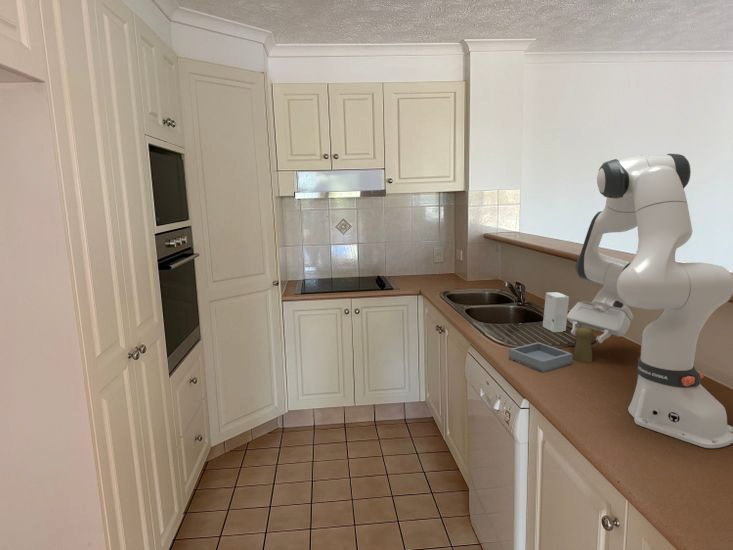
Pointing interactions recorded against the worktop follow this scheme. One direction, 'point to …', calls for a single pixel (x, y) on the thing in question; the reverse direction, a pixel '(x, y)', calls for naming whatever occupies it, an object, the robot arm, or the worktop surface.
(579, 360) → the cork
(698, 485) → the worktop surface
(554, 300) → the skincare box
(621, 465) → the worktop surface
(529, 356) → the tray
